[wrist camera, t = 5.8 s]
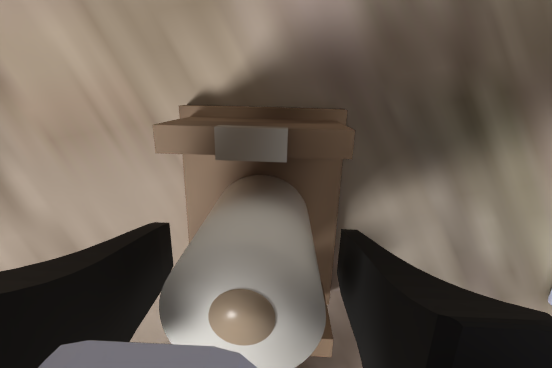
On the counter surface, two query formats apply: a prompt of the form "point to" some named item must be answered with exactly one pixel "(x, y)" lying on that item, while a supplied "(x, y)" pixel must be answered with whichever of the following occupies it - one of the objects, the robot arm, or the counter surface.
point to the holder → (265, 165)
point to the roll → (249, 278)
